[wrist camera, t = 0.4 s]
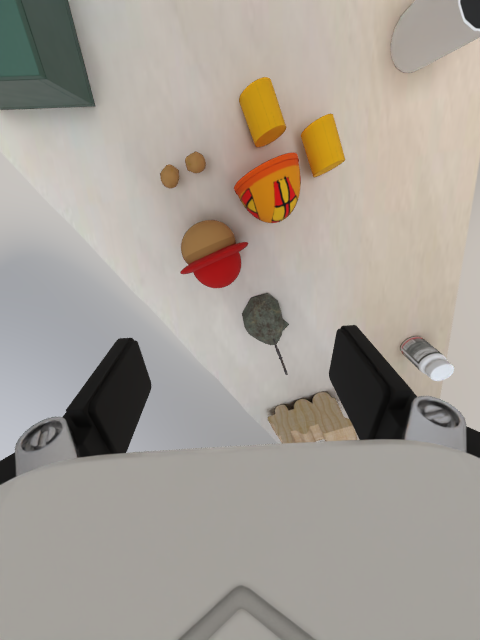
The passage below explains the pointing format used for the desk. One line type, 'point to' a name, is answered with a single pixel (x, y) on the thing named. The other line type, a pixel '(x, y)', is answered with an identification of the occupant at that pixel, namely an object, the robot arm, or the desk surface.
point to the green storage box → (50, 62)
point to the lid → (17, 44)
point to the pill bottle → (427, 358)
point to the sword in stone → (265, 321)
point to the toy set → (255, 184)
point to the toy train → (312, 421)
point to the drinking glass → (433, 31)
